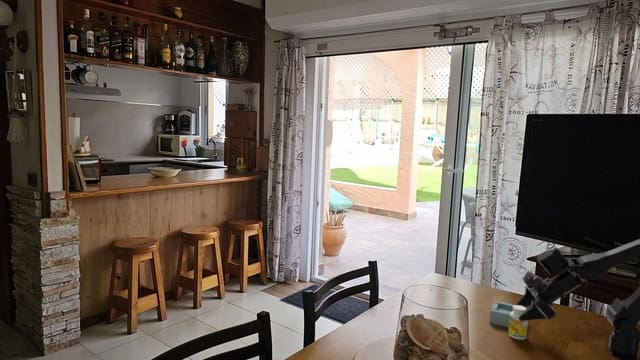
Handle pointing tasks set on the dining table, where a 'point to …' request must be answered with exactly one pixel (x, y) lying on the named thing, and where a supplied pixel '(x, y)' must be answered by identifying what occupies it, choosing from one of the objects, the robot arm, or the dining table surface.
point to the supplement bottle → (517, 323)
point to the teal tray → (501, 313)
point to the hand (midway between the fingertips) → (517, 313)
